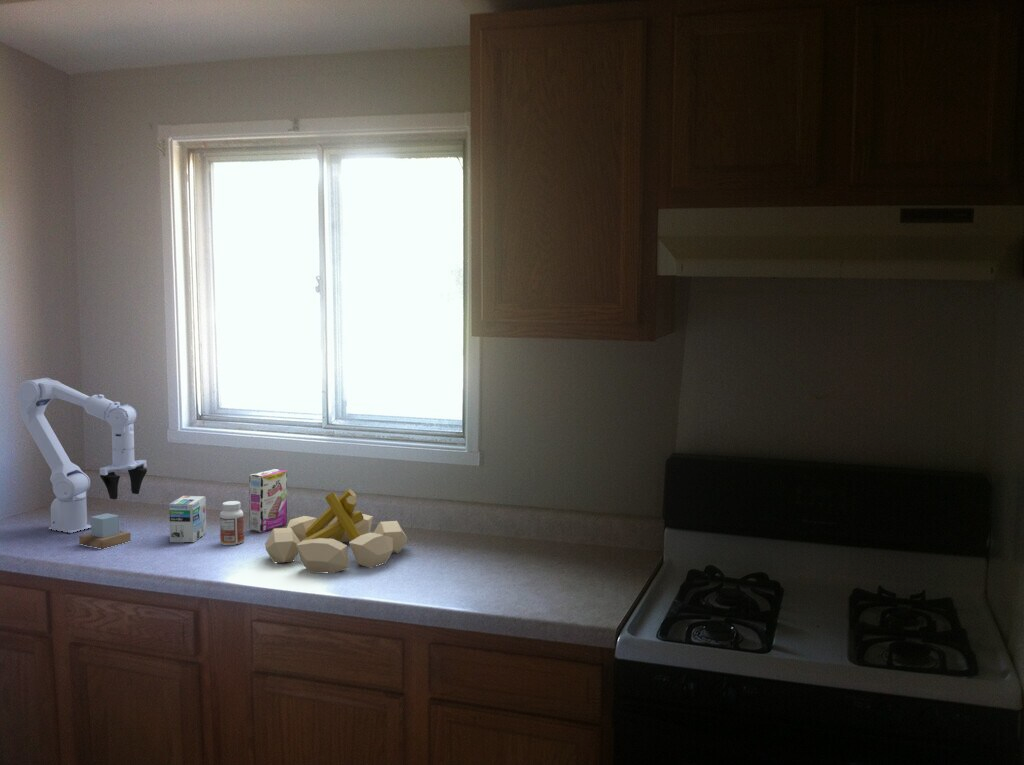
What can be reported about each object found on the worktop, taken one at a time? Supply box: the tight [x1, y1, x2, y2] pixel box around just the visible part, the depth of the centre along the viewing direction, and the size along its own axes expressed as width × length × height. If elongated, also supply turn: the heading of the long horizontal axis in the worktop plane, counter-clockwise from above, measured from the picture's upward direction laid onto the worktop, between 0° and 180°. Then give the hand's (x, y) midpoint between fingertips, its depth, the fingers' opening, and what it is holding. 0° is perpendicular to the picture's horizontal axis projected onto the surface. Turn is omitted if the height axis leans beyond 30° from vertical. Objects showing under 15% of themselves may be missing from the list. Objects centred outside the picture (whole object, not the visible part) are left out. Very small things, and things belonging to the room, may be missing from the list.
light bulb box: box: [168, 495, 207, 543], centre depth 259 cm, size 11×7×11 cm, turn 179°
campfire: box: [264, 488, 409, 574], centre depth 245 cm, size 35×34×17 cm
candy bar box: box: [248, 468, 288, 534], centre depth 271 cm, size 11×5×16 cm, turn 154°
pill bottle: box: [219, 500, 245, 546], centre depth 255 cm, size 6×6×11 cm
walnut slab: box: [78, 530, 132, 550], centre depth 253 cm, size 9×9×3 cm
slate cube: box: [90, 512, 121, 538], centre depth 252 cm, size 5×5×5 cm
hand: (124, 496), depth 266 cm, fingers open, 7 cm apart
